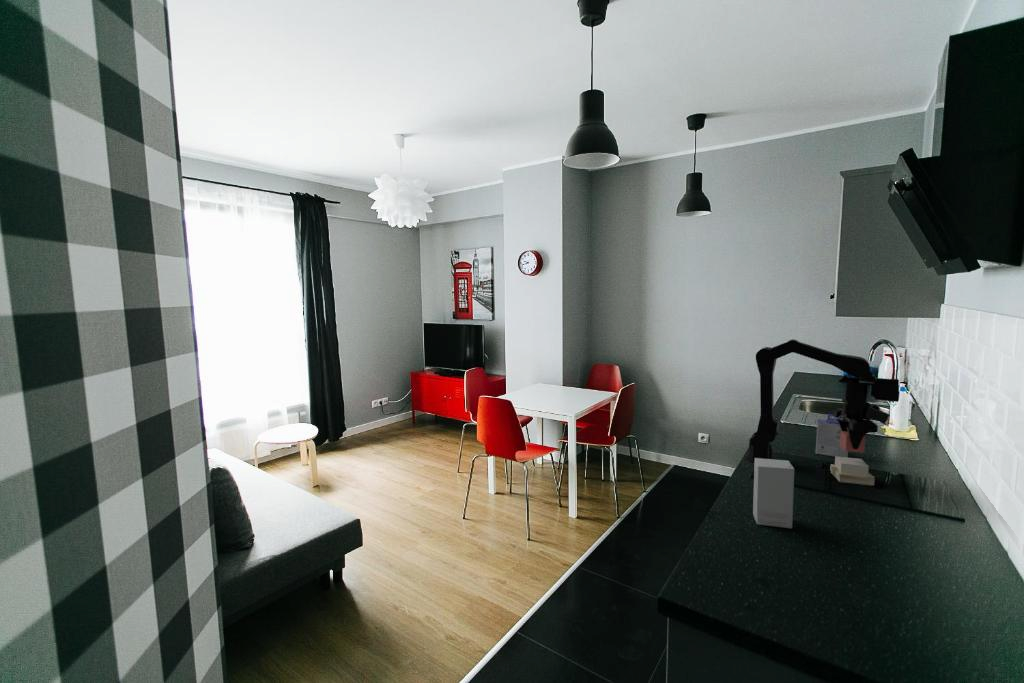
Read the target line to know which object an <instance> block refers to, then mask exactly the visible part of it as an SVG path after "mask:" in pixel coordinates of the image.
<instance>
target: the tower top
mask: <svg viewBox="0 0 1024 683" xmlns="http://www.w3.org/2000/svg"><path fill="white" fill-rule="evenodd" d="M834 458H835V459H834V465H835V466H836V467H837V469H838V470H839V471H840V472H841V473H847V474H856V475H865V476H868V472H869V467H870V466H869V465H868V464H867V463H866V462H865V461H864V460H863V459H862V458H857V457H856V458H855V457H854V458H853V457H848V458H847V457H838V456H834Z"/></svg>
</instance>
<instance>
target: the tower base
mask: <svg viewBox="0 0 1024 683" xmlns="http://www.w3.org/2000/svg"><path fill="white" fill-rule="evenodd" d="M829 469H830V470H829V471H831V472H830V473H831V474H832V475H833V477H834V478H835V479H836V480H837V481H838V482H839V483H847V484H857V485H863V486H875V480H876V479H875V478H876V476H874V475H873V474H871V473H870V472H869V471H868V476H865V475H856V474H847V473H841V472H840V471H839V470H838V469H837V467H836V466H835V463H834V464H833V463H830V466H829Z"/></svg>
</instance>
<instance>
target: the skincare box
mask: <svg viewBox="0 0 1024 683" xmlns="http://www.w3.org/2000/svg"><path fill="white" fill-rule="evenodd" d="M753 466H754V468H753V469H754V470H753V471H754V472H753V473H754V474H753V477H754V478H753V499H752V500H753V501H752V504H753V505H752V514H753V518H754V520H755V522H756V525H760V526H768V527H775V528H776V527H777V528H784V529H785V528H786V529H793V518H794V517H793V515H794V510H793V509H794V492H795V491H794V489H795V488H794V487H795V486H794V485H795V471H796V470H795V467H793V465H792V464H791V462H790V461H789V460H785V459H773V458H772V459H761V458H755V463H753Z"/></svg>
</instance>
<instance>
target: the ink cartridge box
mask: <svg viewBox="0 0 1024 683" xmlns="http://www.w3.org/2000/svg"><path fill="white" fill-rule="evenodd" d="M831 417H832V418H831ZM837 419H840V416H839V417H838V418H835V417H834V416H833V413H828V414H827V419H824V418H821V419H820V418H818V420H817V423H816V439H815V440H816V441H815V452H814V453H815V454H816V455H817V454H818V455H823V456H830V457H835V456H838V457H847V458H849V451H845V450H844V449H842V448H841V447H840V438H841V428H840V426H839V424H838V422H837Z"/></svg>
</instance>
